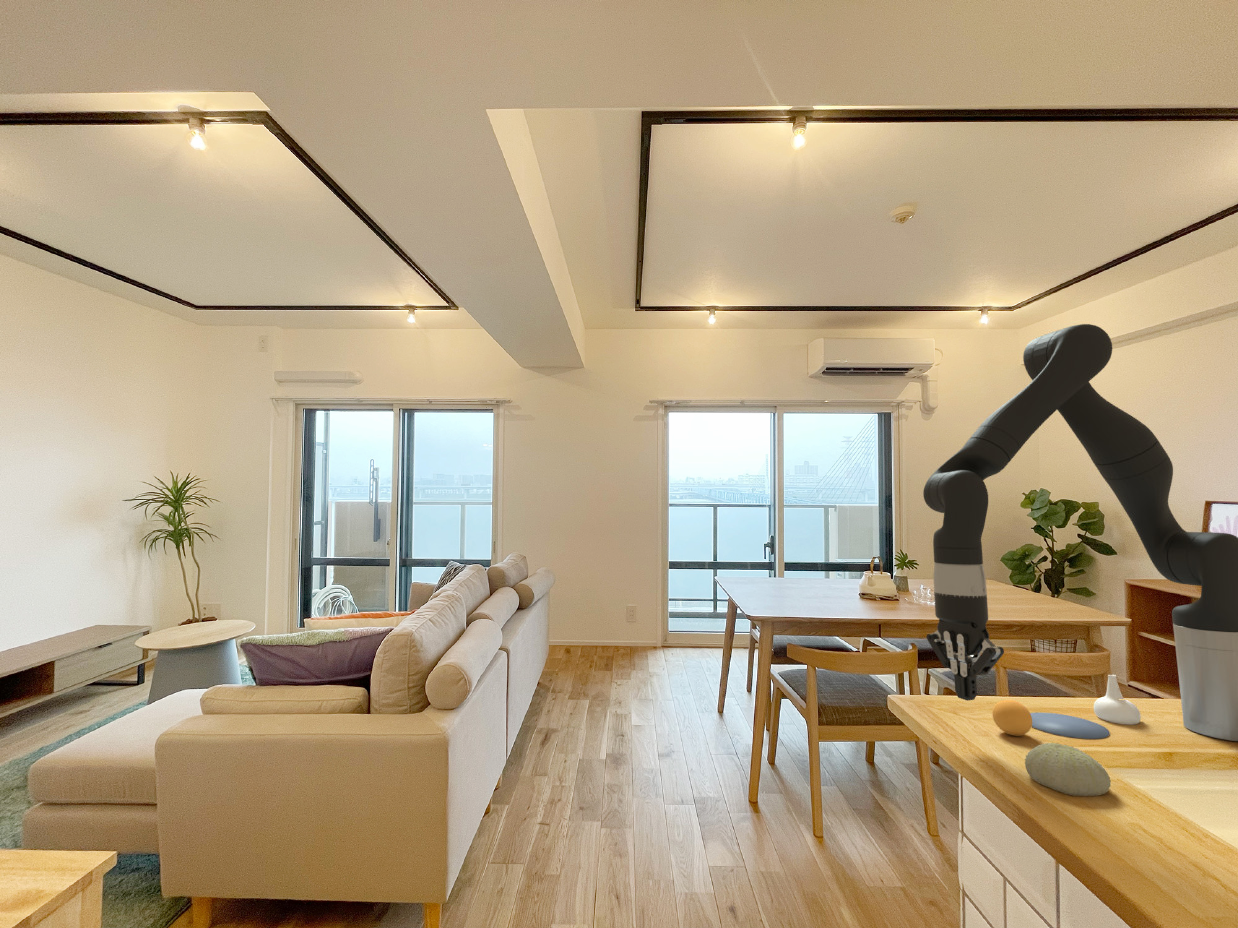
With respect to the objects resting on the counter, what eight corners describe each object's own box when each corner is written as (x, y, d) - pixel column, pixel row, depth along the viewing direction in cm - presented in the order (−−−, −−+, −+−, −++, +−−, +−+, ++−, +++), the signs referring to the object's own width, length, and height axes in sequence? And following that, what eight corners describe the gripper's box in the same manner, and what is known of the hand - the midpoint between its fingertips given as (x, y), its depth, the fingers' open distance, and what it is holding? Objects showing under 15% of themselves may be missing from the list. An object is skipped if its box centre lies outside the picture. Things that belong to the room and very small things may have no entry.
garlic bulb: (1135, 720, 101) (1130, 673, 103) (1146, 728, 96) (1140, 679, 97) (1091, 714, 104) (1086, 669, 106) (1099, 722, 99) (1094, 674, 100)
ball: (1009, 726, 97) (1007, 693, 98) (1041, 738, 92) (1039, 703, 93) (985, 730, 96) (983, 697, 96) (1017, 742, 90) (1014, 707, 91)
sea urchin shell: (1099, 761, 79) (1105, 733, 75) (1112, 821, 74) (1119, 795, 70) (1020, 748, 84) (1021, 721, 80) (1027, 804, 79) (1029, 778, 74)
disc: (1052, 710, 105) (1052, 709, 105) (1127, 733, 94) (1127, 732, 94) (1005, 718, 101) (1005, 716, 101) (1077, 743, 90) (1077, 741, 90)
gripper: (1015, 595, 88) (1023, 709, 86) (943, 585, 101) (948, 685, 99) (979, 597, 86) (986, 714, 84) (910, 587, 98) (915, 689, 97)
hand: (966, 698), depth 92 cm, fingers closed
